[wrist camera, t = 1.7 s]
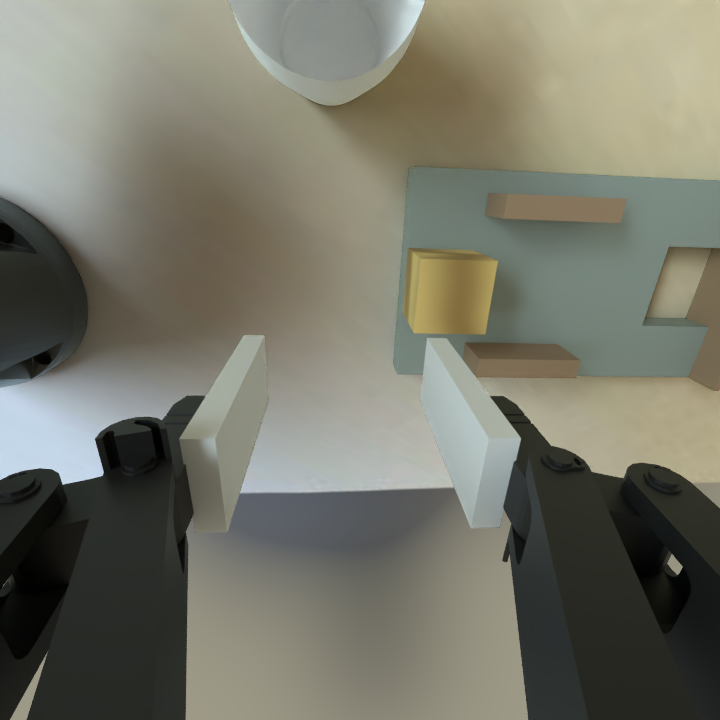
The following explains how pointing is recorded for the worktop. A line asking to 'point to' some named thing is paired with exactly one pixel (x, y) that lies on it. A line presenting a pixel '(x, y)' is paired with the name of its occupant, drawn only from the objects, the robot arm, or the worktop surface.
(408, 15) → the cup
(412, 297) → the ochre block
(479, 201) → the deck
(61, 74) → the worktop surface
